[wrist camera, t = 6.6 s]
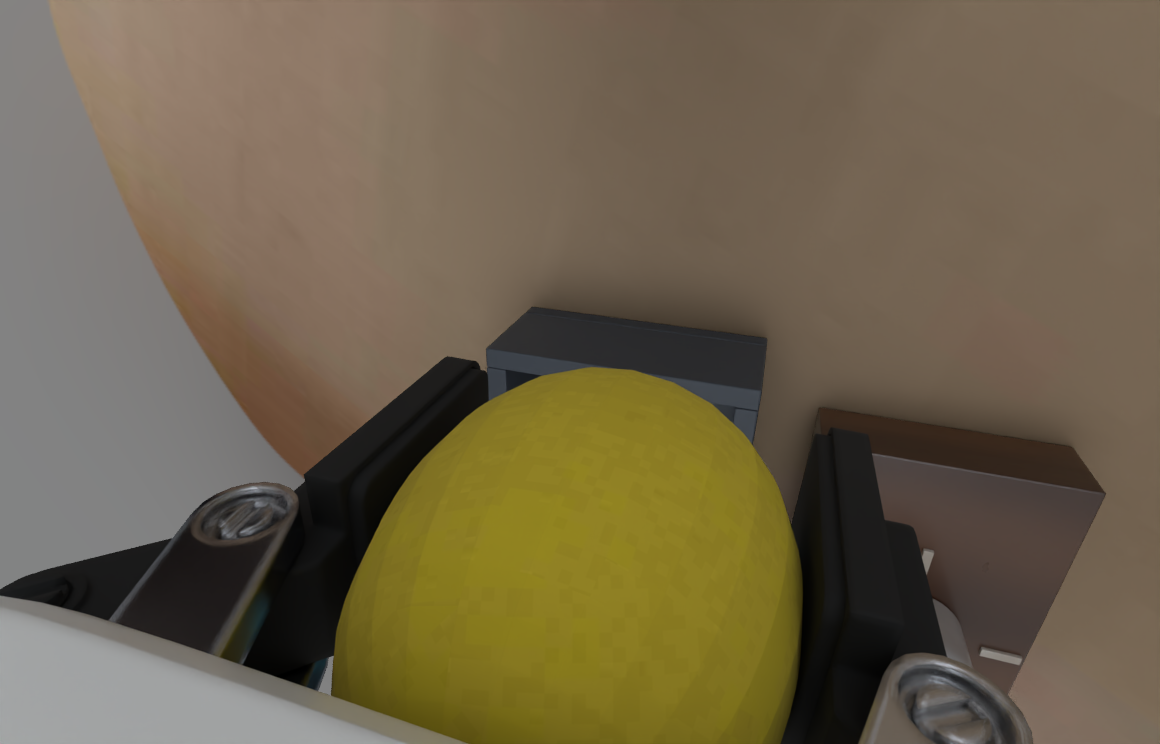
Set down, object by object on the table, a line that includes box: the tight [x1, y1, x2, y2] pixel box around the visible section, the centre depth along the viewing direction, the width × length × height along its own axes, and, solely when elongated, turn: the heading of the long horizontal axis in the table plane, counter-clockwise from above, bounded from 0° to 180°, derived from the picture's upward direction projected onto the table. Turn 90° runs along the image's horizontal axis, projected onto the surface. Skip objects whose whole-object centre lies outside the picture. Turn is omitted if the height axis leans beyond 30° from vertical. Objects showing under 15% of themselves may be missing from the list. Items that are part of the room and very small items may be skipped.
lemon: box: [331, 367, 803, 744], centre depth 8 cm, size 6×6×8 cm
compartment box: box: [486, 307, 767, 445], centre depth 29 cm, size 19×10×5 cm, turn 179°
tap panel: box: [806, 408, 1106, 695], centre depth 26 cm, size 12×9×3 cm
